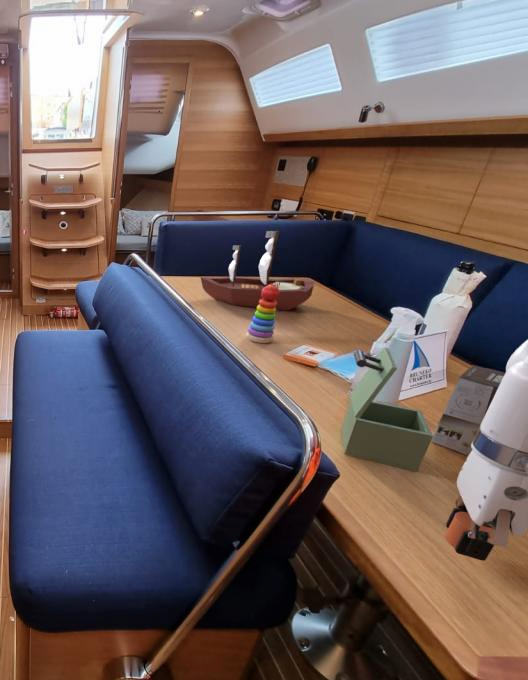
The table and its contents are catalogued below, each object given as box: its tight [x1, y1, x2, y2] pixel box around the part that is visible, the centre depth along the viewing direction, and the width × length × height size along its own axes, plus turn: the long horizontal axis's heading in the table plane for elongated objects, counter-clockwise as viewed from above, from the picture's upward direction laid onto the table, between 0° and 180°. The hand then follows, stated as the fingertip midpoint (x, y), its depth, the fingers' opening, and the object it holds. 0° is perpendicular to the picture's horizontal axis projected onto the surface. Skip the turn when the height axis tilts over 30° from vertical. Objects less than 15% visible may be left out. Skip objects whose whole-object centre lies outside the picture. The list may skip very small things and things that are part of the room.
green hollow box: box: [340, 399, 433, 473], centre depth 87 cm, size 12×10×9 cm
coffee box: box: [430, 364, 506, 456], centre depth 86 cm, size 9×6×16 cm
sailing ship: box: [200, 230, 315, 312], centre depth 165 cm, size 18×40×29 cm, turn 63°
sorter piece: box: [444, 512, 491, 549], centre depth 63 cm, size 4×4×4 cm
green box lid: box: [349, 347, 398, 418], centre depth 85 cm, size 12×10×5 cm
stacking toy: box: [245, 285, 280, 344], centre depth 136 cm, size 8×8×19 cm
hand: (464, 541), depth 64 cm, fingers closed on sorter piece, 4 cm apart
